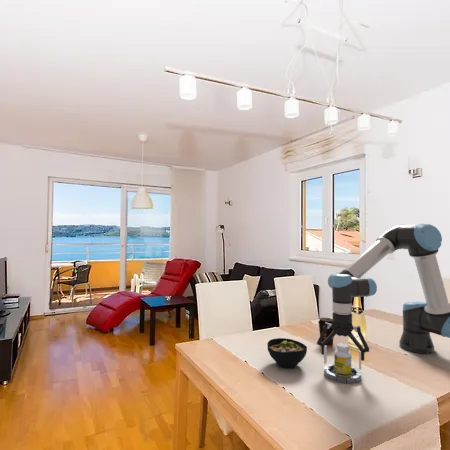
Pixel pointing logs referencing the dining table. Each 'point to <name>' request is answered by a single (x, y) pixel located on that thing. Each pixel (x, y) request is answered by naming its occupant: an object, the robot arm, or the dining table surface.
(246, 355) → the dining table surface
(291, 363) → the bowl
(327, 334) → the coffee cup
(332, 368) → the ring seat
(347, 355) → the pill bottle
